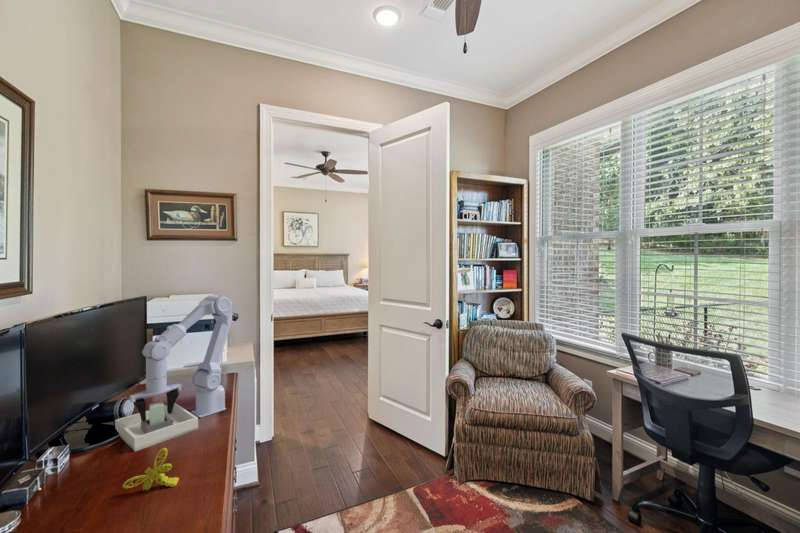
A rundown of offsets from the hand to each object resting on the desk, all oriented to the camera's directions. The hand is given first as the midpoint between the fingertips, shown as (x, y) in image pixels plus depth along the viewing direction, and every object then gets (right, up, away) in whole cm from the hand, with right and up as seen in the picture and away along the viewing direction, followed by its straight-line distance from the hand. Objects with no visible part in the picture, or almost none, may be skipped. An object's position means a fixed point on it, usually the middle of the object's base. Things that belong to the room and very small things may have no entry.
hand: (156, 416), depth 120 cm
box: (0, -5, 0) cm, 5 cm away
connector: (0, -4, 0) cm, 4 cm away
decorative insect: (+19, -6, -30) cm, 36 cm away
